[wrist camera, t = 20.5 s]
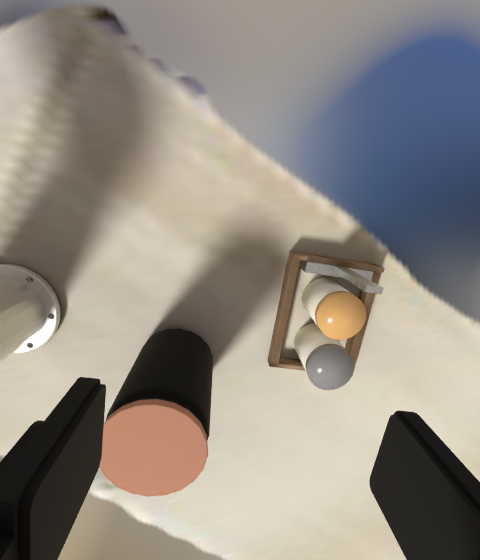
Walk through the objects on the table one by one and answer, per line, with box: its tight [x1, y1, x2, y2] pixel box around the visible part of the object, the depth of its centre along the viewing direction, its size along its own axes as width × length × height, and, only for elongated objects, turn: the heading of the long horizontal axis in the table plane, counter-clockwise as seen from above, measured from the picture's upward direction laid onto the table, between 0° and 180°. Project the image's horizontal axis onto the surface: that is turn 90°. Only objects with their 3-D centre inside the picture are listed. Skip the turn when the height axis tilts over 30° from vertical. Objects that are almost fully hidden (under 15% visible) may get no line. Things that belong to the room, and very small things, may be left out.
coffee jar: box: [99, 329, 213, 496], centre depth 38 cm, size 11×11×18 cm
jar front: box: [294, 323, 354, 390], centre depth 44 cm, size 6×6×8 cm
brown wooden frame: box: [268, 251, 384, 371], centre depth 45 cm, size 13×17×2 cm
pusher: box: [300, 260, 383, 294], centre depth 38 cm, size 9×1×12 cm, turn 81°
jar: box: [302, 278, 366, 340], centre depth 42 cm, size 6×6×8 cm
